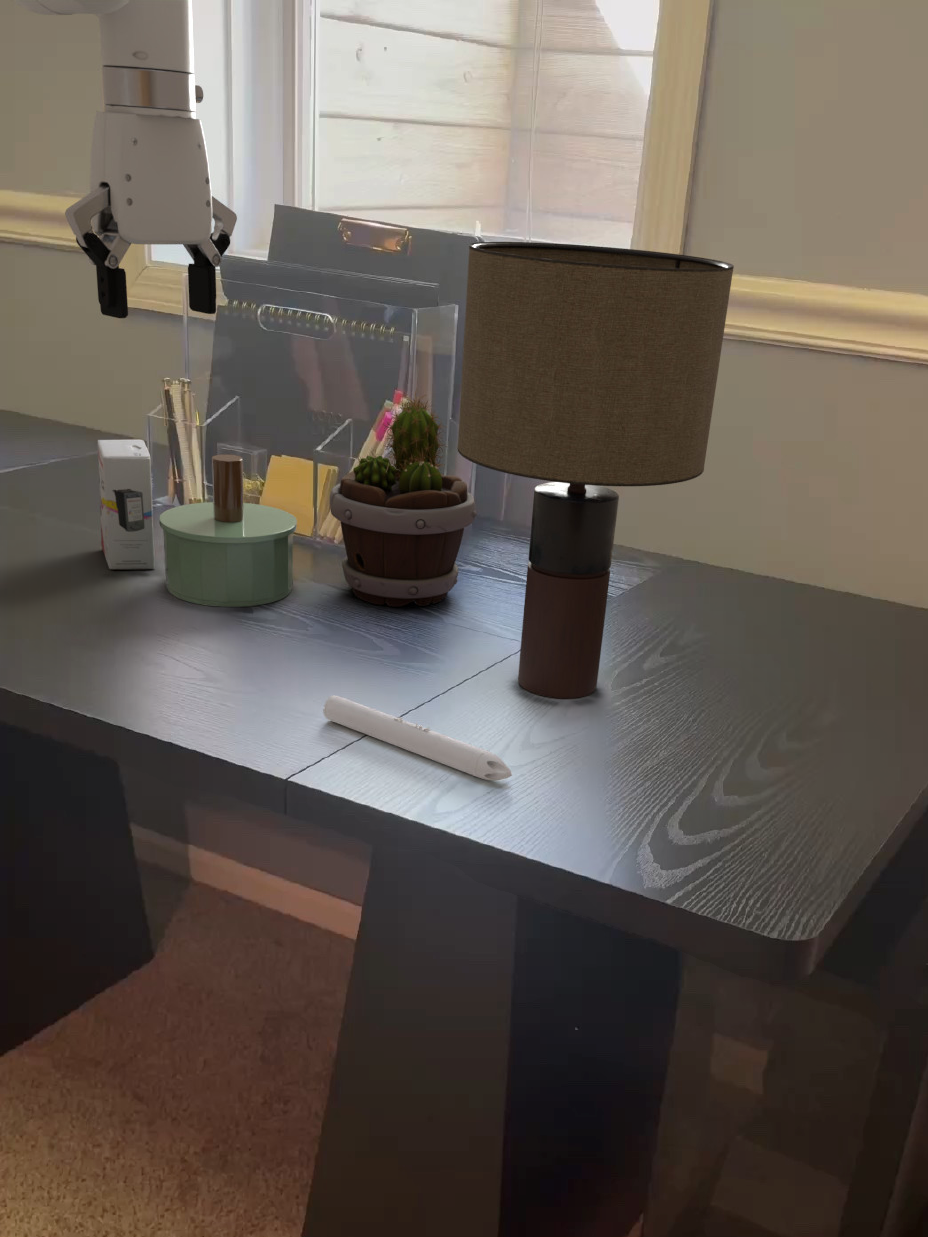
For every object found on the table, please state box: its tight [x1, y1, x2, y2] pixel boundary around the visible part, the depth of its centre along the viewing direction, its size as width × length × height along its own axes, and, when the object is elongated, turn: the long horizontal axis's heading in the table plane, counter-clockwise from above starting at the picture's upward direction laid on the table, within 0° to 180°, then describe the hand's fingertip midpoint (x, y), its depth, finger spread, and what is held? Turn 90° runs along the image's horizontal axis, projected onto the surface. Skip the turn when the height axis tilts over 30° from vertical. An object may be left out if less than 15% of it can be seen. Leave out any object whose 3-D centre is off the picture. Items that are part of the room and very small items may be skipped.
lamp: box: [457, 241, 735, 699], centre depth 107 cm, size 20×20×35 cm
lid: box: [158, 454, 298, 543], centre depth 129 cm, size 14×14×7 cm
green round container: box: [162, 529, 294, 608], centre depth 132 cm, size 13×13×6 cm
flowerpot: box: [329, 387, 478, 608], centre depth 131 cm, size 14×15×20 cm
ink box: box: [97, 438, 156, 570], centre depth 137 cm, size 9×5×12 cm, turn 19°
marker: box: [322, 695, 513, 781], centre depth 100 cm, size 18×2×2 cm, turn 53°
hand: (159, 313), depth 118 cm, fingers open, 9 cm apart
